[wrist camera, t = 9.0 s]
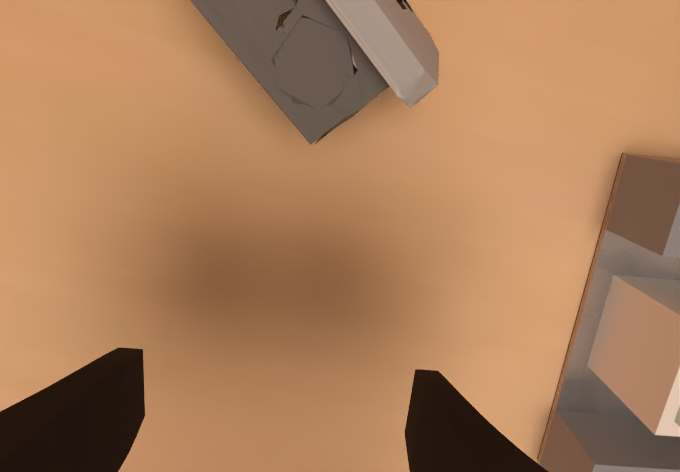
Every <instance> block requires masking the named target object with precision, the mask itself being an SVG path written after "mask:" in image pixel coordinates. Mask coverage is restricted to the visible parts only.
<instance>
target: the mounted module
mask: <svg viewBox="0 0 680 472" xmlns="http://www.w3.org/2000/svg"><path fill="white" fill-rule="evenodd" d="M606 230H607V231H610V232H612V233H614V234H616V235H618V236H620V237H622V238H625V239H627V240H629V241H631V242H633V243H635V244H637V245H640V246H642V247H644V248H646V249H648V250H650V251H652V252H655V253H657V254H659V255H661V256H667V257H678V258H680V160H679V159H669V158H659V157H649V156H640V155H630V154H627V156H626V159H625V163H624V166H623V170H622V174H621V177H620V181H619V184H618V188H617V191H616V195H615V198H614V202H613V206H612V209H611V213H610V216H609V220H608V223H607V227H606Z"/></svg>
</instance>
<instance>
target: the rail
mask: <svg viewBox="0 0 680 472" xmlns="http://www.w3.org/2000/svg"><path fill="white" fill-rule="evenodd" d="M630 155H633V154H630ZM626 156H627V154H622V158H621V161H620V165H619V168H618V172H617V176H616V179H615V183H614V186H613V190H612V194H611V197H610V201H609V204H608V208H607V212H606V215H605V219H604V222H603V226H602V230H601V233H600V237H599V240H598V244H597V248H596V251H595V255H594V258H593V262H592V266H591V269H590V273H589V277H588V280H587V284H586V287H585V291H584V295H583V298H582V302H581V305H580V309H579V313H578V316H577V320H576V323H575V327H574V331H573V334H572V338H571V341H570V345H569V349H568V352H567V356H566V359H565V363H564V367H563V370H562V374H561V377H560V381H559V385H558V388H557V392H556V395H555V399H554V403H553V406H552V410H551V413H550V417H549V421H548V424H547V428H546V431H545V435H544V439H543V442H542V446H541V449H540V453H539V457H538V461H539V462H541V459H542V455H543V452H544V448H545V444H546V441H547V437H548V434H549V430H550V427H551V423H552V420H553V416H554V412H555V410H559V411H573V412H588V413H602V414H616V415H631V416H636V415H635V414H634V413H633V412H632V411H631V410H630V409H629V408H628V407H627V406H626V405H625V404H624V403H623V402H622V401H621V400H620V399H619V398H618V397H617V396H616V395H615V394H614V393H613V392H612V391H611V390H610V388H609V387H608V386H607V385H606V384H605V383H604V382H603V381H602V380H601V379H600V378H599V377H598V376H597V375H596V374H595V373H594V372H593V371H592V370H591V369H590V368H589V367H588V366H587V363H588V360H589V356H590V353H591V350H592V346H593V343H594V339H595V336H596V333H597V329H598V326H599V322H600V319H601V315H602V312H603V309H604V305H605V302H606V298H607V295H608V292H609V288H610V285H611V281H612V278H613V275H621V276H633V277H645V278H656V279H668V280H680V258H678V257H667V256H661V255H659V254H657V253H655V252H652V251H650V250H648V249H646V248H644V247H642V246H640V245H637V244H635V243H633V242H631V241H629V240H627V239H625V238H622V237H620V236H618V235H616V234H614V233H612V232H610V231H607V230H606V227H607V223H608V220H609V216H610V213H611V209H612V206H613V202H614V198H615V195H616V191H617V188H618V184H619V181H620V177H621V174H622V170H623V166H624V163H625V159H626ZM640 156H643V155H640ZM649 157H653V156H649ZM659 158H663V157H659ZM669 159H673V158H669ZM679 160H680V159H679Z"/></svg>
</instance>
